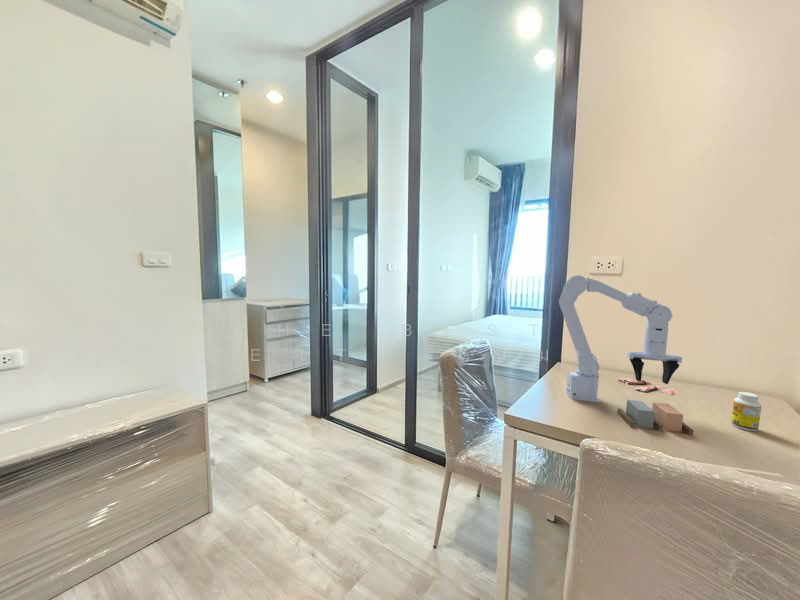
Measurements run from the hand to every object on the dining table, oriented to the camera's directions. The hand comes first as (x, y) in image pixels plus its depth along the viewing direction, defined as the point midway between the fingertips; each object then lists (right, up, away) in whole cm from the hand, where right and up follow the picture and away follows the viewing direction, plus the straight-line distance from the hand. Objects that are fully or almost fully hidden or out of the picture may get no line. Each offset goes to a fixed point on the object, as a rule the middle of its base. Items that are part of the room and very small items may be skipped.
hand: (651, 381), depth 107 cm
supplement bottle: (+19, -11, -11) cm, 25 cm away
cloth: (+14, -9, +24) cm, 29 cm away
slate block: (-11, -10, -10) cm, 18 cm away
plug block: (-4, -10, -11) cm, 16 cm away
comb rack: (-8, -10, -11) cm, 17 cm away
